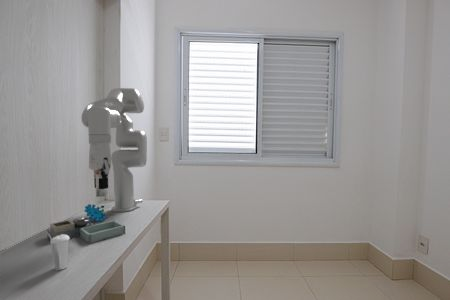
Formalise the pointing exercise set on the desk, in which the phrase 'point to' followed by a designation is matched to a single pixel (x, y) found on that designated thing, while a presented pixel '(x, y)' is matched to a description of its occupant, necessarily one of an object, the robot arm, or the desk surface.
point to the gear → (95, 213)
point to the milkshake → (60, 251)
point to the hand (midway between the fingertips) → (101, 187)
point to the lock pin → (98, 191)
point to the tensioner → (68, 227)
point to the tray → (102, 231)
